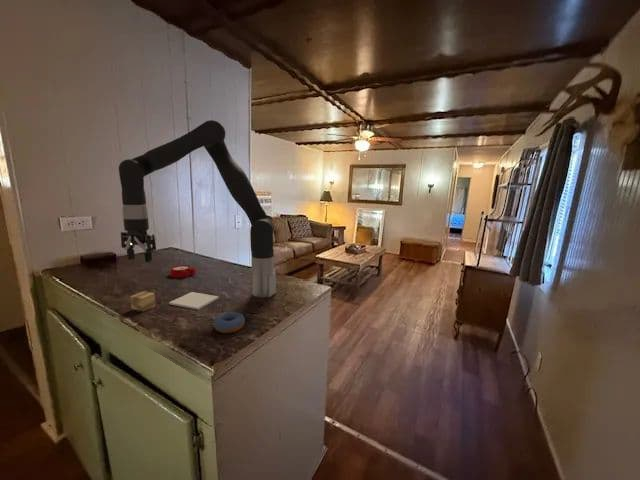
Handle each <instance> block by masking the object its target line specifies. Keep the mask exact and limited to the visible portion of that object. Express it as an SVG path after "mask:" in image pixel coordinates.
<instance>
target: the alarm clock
mask: <svg viewBox="0 0 640 480" xmlns="http://www.w3.org/2000/svg"><path fill="white" fill-rule="evenodd" d="M166 270H167V271H170V274H169V277H171V278H180V279H185V278H187V277H188V276H194V275H195V274H196V273H197V272H196V271H197V270H196V268H195V267H191V266H190V265H187V264H181V265H175V266H172V267H170V269H166Z"/></svg>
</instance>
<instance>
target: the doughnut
mask: <svg viewBox="0 0 640 480" xmlns="http://www.w3.org/2000/svg"><path fill="white" fill-rule="evenodd" d="M245 323H246V320H245V316H244V315H243V314H242V313H240V312H236V311H235V312H234V311H228V312H224V313H221V314H219V315H217V316H216V317H215V318H214V320H213V326H214V330H215V331H216V332H218V333H222V334H230V333H231V334H232V333H235V332H237V331H240V330H242V329H243V327H244V326H245Z"/></svg>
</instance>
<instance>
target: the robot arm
mask: <svg viewBox="0 0 640 480" xmlns="http://www.w3.org/2000/svg"><path fill="white" fill-rule="evenodd" d="M225 139H226V129H225V126H224V125H223V124H222V123H221V122H219V121H217V120H213V119H211V120H210V119H208V120H206V121H204V122H202V123H201V124H200V125H198V126H197V127H195V128H194V129H192V130H190V131H188V132H187V133H185V134H184V135H181V136H179V137H177V138H175V139H174V140H173V139H172V140H171V141H168V142H166V143H164V144H162V145H159V146H157V147H155V148H152V149H150V150H147V151H146V152H144V154H141V155H139V156H135V157H134V158H128V159H125V160H122V161H121V162H120V163H119V165H118V174H119V175H118V176H119V180H120V185H121V187H120V188H121V200H122V202H121V203H122V220H123V229H124V231H121V232H120V242H121V243H120V245H121V248H122V249H125V251H126V256H127V260H129V261H132V260H135V259H136V257H135V249H134V248H135V246H138V247H139V248H141V249H142V250H143V253H144V254H143V255H144V262H145V263H151V262H152V260H153V256H152V252H153V251H156V250H157V245H156V236H155V234H154V233H150V234H149V233H148V232H147V231H148V230H149V229H150V226H149V225H150V224H149V213H148V206H147V198H146V197H147V196H146V192H145V180H144V179H145V177H146V176H148V175H150V174H152V173H154V172H156V171H158V170H162V169H164V168H167V167H169V166H171V165H173V164H175V163H176V162H178V161H180V160H182V159H184V158H185V157H186V156H187V155H189V154H190V153H193V152H194V151H197V149H200V148H202V147H203V148H204V149H205V150H206V152H207V153H208V154H209V156H210V157H211V159H212V161H213V162H214V164H215V166H216V168H217V170H218V172H219V174H220V175H219V176H221V178H222V181H223V182H224V184H225V186H226V188H227V190H228V192H229V193H230V195H231V196H232V198H233V199H234V201H235V202H236V204H238V205H239V207H240V208H241V209H242V210H243V212H244V213H245V214H246V217H247V219H248V221H249V223H250V230H249V234H250V235H249V236H250V237H249V239H250V252H251V275H252V276H251V277H252V296H253V297H255V298H263V299H265V298H271V297H272V296H274V295H275V294H276V293H277V289H276V288H277V287H276V286H277V281H276V280H277V277H276V276H277V273H276V272H275V264H274V263H275V262H274V261H275V259H274V257H275V256H274V255H275V253H274V252H275V250H274V233H275V226H274V223H273V222H272V220H271V219H270V218H269V216H268V215H267V213H266V212H265V210H264V209H263V207H262V205H261V203H260V201H259V199H258V197H257V194H256V192H255V190H254V188H253V186H252V183H251V181H250V180H249V178H248V176H247V174H246V173H245V171H244V169H243V168H242V167H241V166H240V165H239V164H238V163H237V162H236V161H235V159H234V158H233V156H232V155H231V153H230V151H229V150H228V147H227V145H226V142H225Z"/></svg>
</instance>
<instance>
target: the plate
mask: <svg viewBox="0 0 640 480" xmlns="http://www.w3.org/2000/svg"><path fill="white" fill-rule="evenodd" d="M219 298H220V297H219V296H218V295H212V294H206V293H201V292H193V291H191V292H189V293H186V294H184V295H182V296H179V297H178V298H176V299H173V300H171V301H169V303H168V304H169V305H172V306H175V307H182V308H187V309H192V310H197V311H198V310H200V309H203V308H204V307H205V306H207V305H210V304H211V303H213V302H215V301H216V300H219Z"/></svg>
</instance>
